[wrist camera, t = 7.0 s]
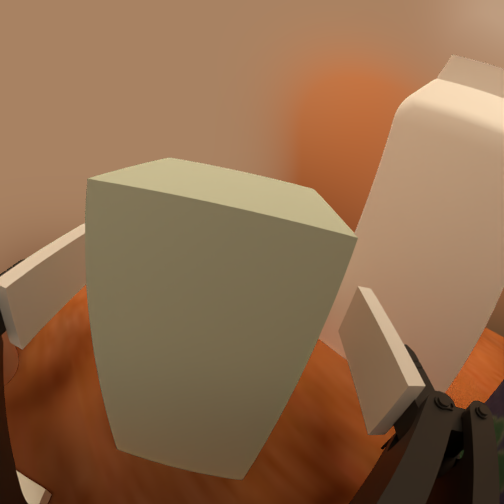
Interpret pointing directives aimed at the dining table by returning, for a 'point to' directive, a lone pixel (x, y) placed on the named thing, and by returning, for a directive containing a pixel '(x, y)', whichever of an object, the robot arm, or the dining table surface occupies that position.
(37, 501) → the white tile
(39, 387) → the dining table surface
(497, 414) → the flask
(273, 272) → the sage block
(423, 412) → the robot arm
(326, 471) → the dining table surface
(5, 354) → the white cylinder
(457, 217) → the milk
